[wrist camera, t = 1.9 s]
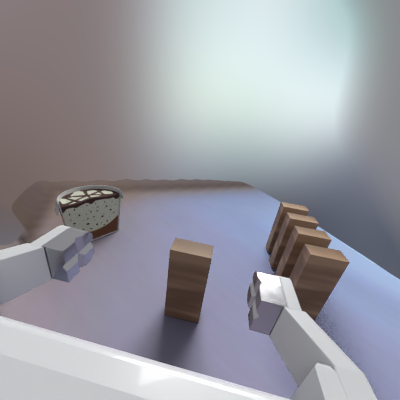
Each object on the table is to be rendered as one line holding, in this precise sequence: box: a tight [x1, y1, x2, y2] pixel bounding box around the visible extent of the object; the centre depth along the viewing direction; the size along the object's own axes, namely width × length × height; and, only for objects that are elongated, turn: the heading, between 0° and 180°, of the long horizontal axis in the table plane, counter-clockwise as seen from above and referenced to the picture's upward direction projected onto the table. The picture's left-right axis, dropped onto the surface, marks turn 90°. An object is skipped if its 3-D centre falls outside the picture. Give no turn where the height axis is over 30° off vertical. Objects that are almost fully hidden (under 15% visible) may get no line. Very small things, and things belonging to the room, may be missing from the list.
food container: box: [55, 185, 123, 241], centre depth 40 cm, size 12×6×10 cm, turn 141°
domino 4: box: [275, 226, 331, 278], centre depth 34 cm, size 2×5×12 cm, turn 81°
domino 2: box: [266, 202, 309, 253], centre depth 43 cm, size 2×5×12 cm, turn 81°
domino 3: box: [269, 212, 318, 269], centre depth 38 cm, size 2×5×12 cm, turn 81°
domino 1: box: [164, 238, 213, 323], centre depth 26 cm, size 2×5×12 cm, turn 81°
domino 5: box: [289, 244, 349, 320], centre depth 29 cm, size 2×5×12 cm, turn 81°
